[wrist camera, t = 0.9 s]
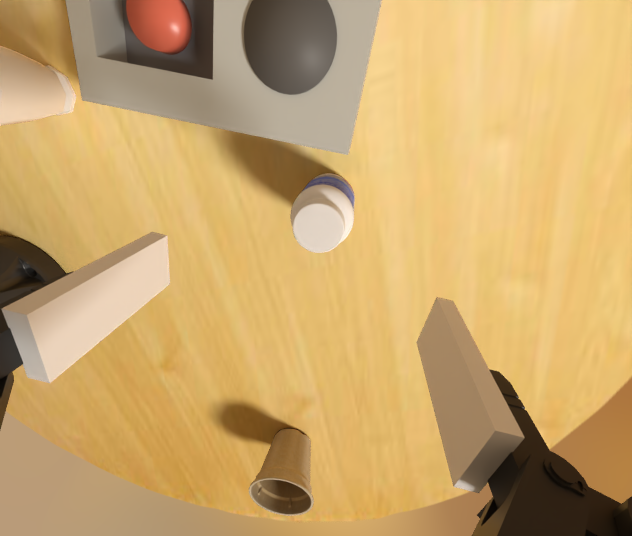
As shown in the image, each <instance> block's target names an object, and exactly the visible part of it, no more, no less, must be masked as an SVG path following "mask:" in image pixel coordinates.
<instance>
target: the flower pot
mask: <svg viewBox="0 0 632 536" xmlns="http://www.w3.org/2000/svg"><path fill="white" fill-rule="evenodd" d="M310 456H311V442H310V439H309V437H308V436H307V435H304V434H302V433H301V432H300V431H299V430H296V429H283V430H280V431H279V432H278V433H277V434H276V435H275V437H274V439H273V442H272V444H271V447H270V449H269V451H268V454H267V456H266V459H265V461H264V463H263V466H262V468H261V470H260V472H259V473H258V475H257V476H256V479H255V480H254V481H253V482H252V483H251V485H250V487H249V494H250V497H251V498H252V500H253V501H254V502H255V503H256V504H257V505H259V506H260V507H262V508H264V509H265V510H268V511H270V512H273V513H276V514H280V515H287V516H292V515H301V514H304V513H306V512H308V511H309V510H311V508H312V507H313V502H314V500H313V496H312V494H311V485H310Z"/></svg>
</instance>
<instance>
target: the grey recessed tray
mask: <svg viewBox="0 0 632 536" xmlns="http://www.w3.org/2000/svg"><path fill="white" fill-rule="evenodd" d="M126 1H127V0H66V6H67V12H68V18H69V24H70V30H71V36H72V42H73V48H74V54H75V60H76V66H77V72H78V78H79V84H80V90H81V96H82V100H83V101H88V102H93V103H98V104H103V105H108V106H113V107H117V108H122V109H127V110H132V111H137V112H142V113H147V114H152V115H156V116H161V117H166V118H171V119H176V120H181V121H186V122H190V123H195V124H200V125H205V126H210V127H215V128H220V129H224V130H229V131H234V132H239V133H244V134H249V135H254V136H258V137H263V138H268V139H273V140H278V141H283V142H288V143H292V144H297V145H302V146H307V147H312V148H317V149H322V150H327V151H331V152H336V153H341V154H346V155H348V153H349V151H350V147H351V142H352V137H353V133H354V128H355V124H356V119H357V114H358V110H359V105H360V100H361V96H362V91H363V86H364V82H365V77H366V73H367V68H368V63H369V59H370V54H371V49H372V45H373V40H374V35H375V31H376V26H377V22H378V17H379V12H380V8H381V3H382V0H183V1H184V3H185V4H186V6H187V8H188V11H189V13H190V17H191V23H192V33H191V38H190V41H189V43H188V45H187V47H186V48H185V49H184V50H183V51H182V52H180V53H178V54H175V55H168V54H164V53H162V52H159V51H156V50H154V49H151V48H149V47H147V46H145V45H144V44H143V43H142V42H141V41H140V40H139V39H138V38H137V37H136V35H135V34H134V32H133V30H132V28H131V26H130V24H129V21H128V17H127V11H126Z"/></svg>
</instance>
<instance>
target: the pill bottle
mask: <svg viewBox="0 0 632 536" xmlns="http://www.w3.org/2000/svg"><path fill="white" fill-rule="evenodd" d="M354 201H355V198H354V192H353V189H352V187H351V185H350V184H349V183H348V182H347V181H346V180H345V179H344V178H343V177H341V176H339V175H336V174H331V173H326V174H321V175H319V176H317V177H315V178H313V179H312V180H311V181H310V182H309V183H308V184H307V186H306V187H305V188H304V189H303V191H302V192H301V193H300V194H299V195H298V197H297V198H296V200H295V201H294V203H293V206H292V209H291V223H292V227H293V233H294V236H295V238H296V240H297V242H298V243H299V244H300V245H301V246H302V247H303V248H305V249H307V250H309V251H311V252H316V253H323V252H327V251H330V250H332V249H334V248H335V247H336V246H337V245H338V244H339V243H341V242H342V241H343V240H344V239H345V238H346V237H347V236H348V235H349V233H350V231H351V229H352V226H353V222H354Z"/></svg>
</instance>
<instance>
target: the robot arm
mask: <svg viewBox="0 0 632 536" xmlns="http://www.w3.org/2000/svg"><path fill="white" fill-rule="evenodd" d="M169 284H170V276H169V258H168V241H167V235H163V234H159V233H154V232H151V233H149V234H147V235H145V236H143V237H141V238H139V239H137V240H135V241H134V242H132V243H130V244H128V245H126V246H124V247H122V248H120V249H118V250H116V251H114V252H112V253H110V254H108V255H106V256H104V257H102V258H100V259H98V260H96V261H94V262H92V263H90V264H88V265H86V266H84V267H82V268H80V269H78V270H77V271H75V272H70V273H66V274H65V272H64V271H63V270H62V269H61V268H60V266H59V265H58V264H57V263H56V262H55V261H54V260H53V259H52V258H50V257H49V256H48V255H47V254H45V253H44V252H43V251H41V250H40V249H38V248H37V247H35V246H33V245H32V244H30V243H28V242H26V241H23V240H21V239H18V238H14V237H10V236H2V235H0V429H1V425H2V422H3V418H4V414H5V411H6V407H7V404H8V400H9V397H10V393H11V390H12V386H13V382H14V376H13V373H12V371H14V370H15V369H16V368H18V367H19V366H21V365H22V364H23V366H24V369H25V372H26V374H27V377H28V378H32V379H36V380H39V381H43V382H47V383H51V382H52V381H53V380H54V379H56V378H57V377H58V376H59V375H60V374H62V373H63V372H64V371H65V370H66V369H68V368H69V367H70V366H71V365H72V364H74V363H75V362H76V361H77V360H79V359H80V358H81V357H82V356H83V355H85V354H86V353H87V352H88V351H89V350H91V349H92V348H93V347H94V346H95V345H97V344H98V343H99V342H100V341H101V340H103V339H104V338H105V337H106V336H108V335H109V334H110V333H111V332H112V331H114V330H115V329H116V328H117V327H118V326H120V325H121V324H122V323H123V322H124V321H126V320H127V319H128V318H129V317H131V316H132V315H133V314H134V313H135V312H137V311H138V310H139V309H140V308H141V307H143V306H144V305H145V304H146V303H147V302H149V301H150V300H151V299H152V298H153V297H155V296H156V295H157V294H158V293H160V292H161V291H162V290H163V289H164V288H166V287H167V286H168V285H169ZM417 345H418V349H419V353H420V357H421V361H422V365H423V369H424V373H425V377H426V380H427V384H428V388H429V392H430V396H431V400H432V404H433V408H434V412H435V416H436V420H437V423H438V427H439V431H440V435H441V439H442V443H443V447H444V451H445V455H446V459H447V463H448V466H449V470H450V474H451V478H452V482H453V486H454V487H457V488H461V489H465V490H469V491H473V492H476V493H479V492H480V491H481V490H482V489H483V487H484V486H485V485H486V484H487V483H489V486H490V489H491V492H492V495H493V498H492V499H491V500H490V501H489V502H488V503H487V504H486V506H485V507H484V508H483V509H482V510H481V511H480V512H479V513H478V515H477V516H478V517H479V518H480V520H479V523H478V524H477V527H476V528H475V530H474V532H473V535H472V536H632V497H630V498H629V499H627V500H626V501H625V502H624V503H622V504H621V503H619V502H617V501H615V500H613V499H611V498H609V497H607V496H605V495H603V494H601V493H599V492H598V491H596V490H594V489H592V488H590V487H588V485H587V484H586V481H585V480H584V478H583V477H582V476H581V475H580V473H579V472H578V471H577V470H576V469H575V468H574V467H573V466H572V465H571V464H570V463H568V462H567V461H566V460H565V459H563V458H562V457H560V456H559V455H557V454H555V453H553V452H551V451H550V450H549V449H548V447H547V445H546V443H545V442H544V440H543V438H542V437H541V435H540V433H539V431H538V430H537V428H536V426H535V424H534V423H533V421H532V419H531V418H530V416H529V414H528V412H527V411H526V410H525V407H524V405H523V404H522V402H521V400H519V399H518V395H517V393H516V392H515V390H514V388H513V386H512V385H511V384H510V382H509V381H508V380H507V379H506V378H505V377H504V376H503V375H502V374H501V373H500V372H498V371H494V370H489V368H488V366H487V365H486V363H485V361H484V359H483V357H482V355H481V353H480V351H479V349H478V347H477V345H476V344H475V342H474V340H473V338H472V336H471V334H470V332H469V330H468V328H467V326H466V324H465V323H464V321H463V319H462V317H461V315H460V313H459V311H458V309H457V307H456V305H455V303H454V302H453V301H451V300H447V299H443V298H438V297H437V298H436V300H435V302H434V304H433V307H432V309H431V311H430V313H429V316H428V318H427V320H426V322H425V325H424V327H423V329H422V331H421V334H420V336H419V338H418V340H417Z"/></svg>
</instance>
